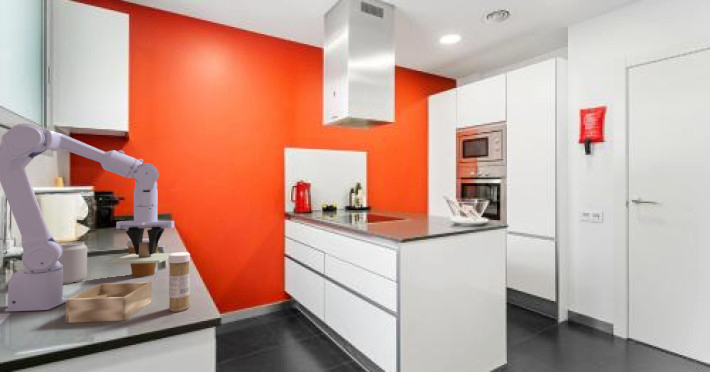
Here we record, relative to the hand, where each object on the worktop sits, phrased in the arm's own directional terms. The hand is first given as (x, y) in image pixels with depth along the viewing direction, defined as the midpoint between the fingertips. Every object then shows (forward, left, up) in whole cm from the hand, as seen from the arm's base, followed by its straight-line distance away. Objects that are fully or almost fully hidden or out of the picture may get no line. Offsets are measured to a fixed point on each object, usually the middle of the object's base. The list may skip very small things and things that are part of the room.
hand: (145, 253), depth 95 cm
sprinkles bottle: (+15, -16, -11) cm, 24 cm away
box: (0, -16, -10) cm, 19 cm away
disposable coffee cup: (-9, +18, -11) cm, 23 cm away
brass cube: (-3, -18, -10) cm, 21 cm away
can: (-27, +12, -11) cm, 31 cm away
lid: (0, -1, -1) cm, 1 cm away
